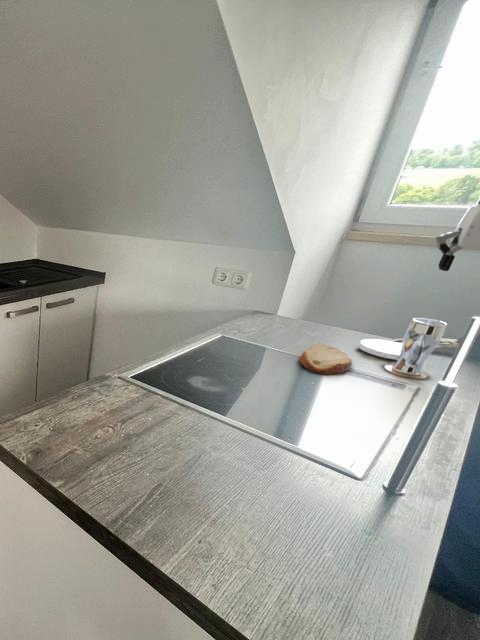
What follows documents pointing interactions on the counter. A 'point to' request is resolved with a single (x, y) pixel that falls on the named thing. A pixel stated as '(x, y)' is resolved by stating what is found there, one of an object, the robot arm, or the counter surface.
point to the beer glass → (418, 345)
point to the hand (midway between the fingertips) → (468, 271)
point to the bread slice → (325, 359)
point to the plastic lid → (381, 348)
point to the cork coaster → (389, 369)
